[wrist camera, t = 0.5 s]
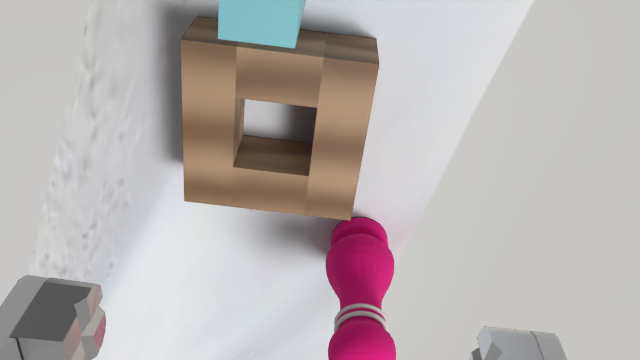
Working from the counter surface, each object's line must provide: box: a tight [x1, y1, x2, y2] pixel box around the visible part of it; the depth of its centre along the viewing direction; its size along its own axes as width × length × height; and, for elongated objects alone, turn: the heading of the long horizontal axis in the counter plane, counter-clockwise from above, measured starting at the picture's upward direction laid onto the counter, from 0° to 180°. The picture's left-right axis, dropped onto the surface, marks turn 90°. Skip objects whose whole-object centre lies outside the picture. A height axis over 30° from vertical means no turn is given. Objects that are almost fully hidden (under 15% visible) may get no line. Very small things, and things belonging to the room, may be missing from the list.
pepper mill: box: [326, 218, 396, 360], centre depth 55 cm, size 7×7×20 cm
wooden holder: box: [180, 16, 379, 221], centre depth 52 cm, size 16×16×6 cm
